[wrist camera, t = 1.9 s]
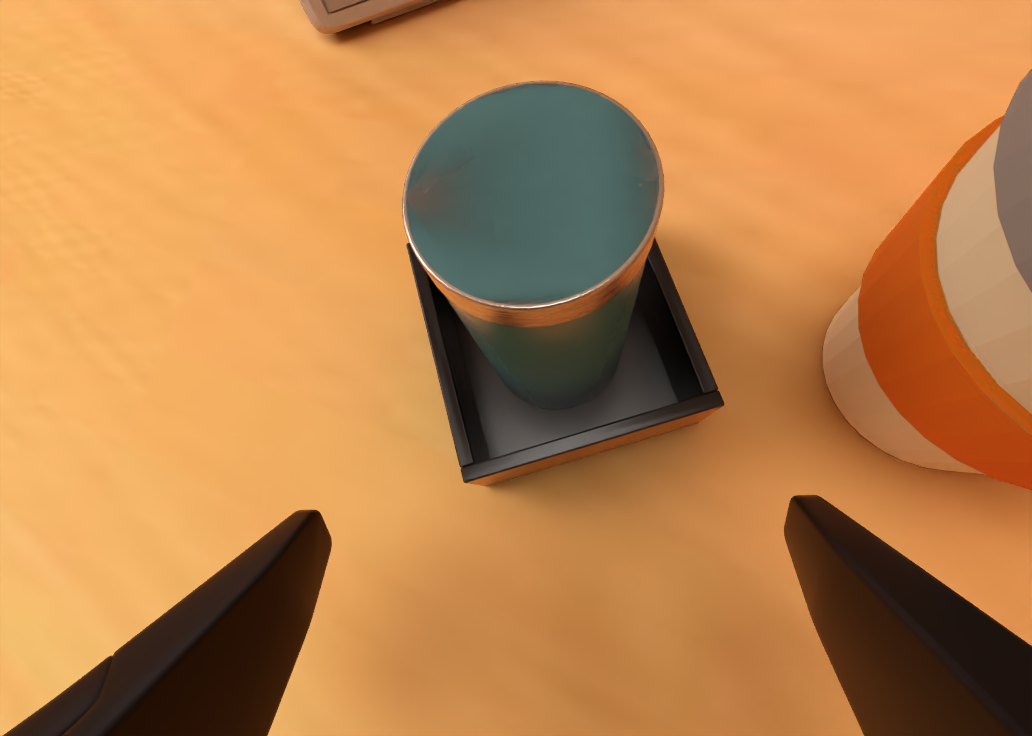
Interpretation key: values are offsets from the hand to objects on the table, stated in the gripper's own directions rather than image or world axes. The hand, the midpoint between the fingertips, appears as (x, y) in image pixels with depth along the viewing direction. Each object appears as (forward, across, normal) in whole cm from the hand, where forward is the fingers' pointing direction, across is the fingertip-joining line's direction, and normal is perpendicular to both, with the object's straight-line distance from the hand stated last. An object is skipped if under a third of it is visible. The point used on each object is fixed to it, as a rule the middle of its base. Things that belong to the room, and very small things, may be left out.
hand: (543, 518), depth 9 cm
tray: (+15, 0, +4) cm, 15 cm away
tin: (+14, 0, +4) cm, 15 cm away
